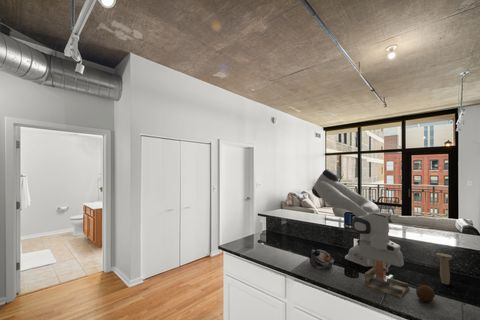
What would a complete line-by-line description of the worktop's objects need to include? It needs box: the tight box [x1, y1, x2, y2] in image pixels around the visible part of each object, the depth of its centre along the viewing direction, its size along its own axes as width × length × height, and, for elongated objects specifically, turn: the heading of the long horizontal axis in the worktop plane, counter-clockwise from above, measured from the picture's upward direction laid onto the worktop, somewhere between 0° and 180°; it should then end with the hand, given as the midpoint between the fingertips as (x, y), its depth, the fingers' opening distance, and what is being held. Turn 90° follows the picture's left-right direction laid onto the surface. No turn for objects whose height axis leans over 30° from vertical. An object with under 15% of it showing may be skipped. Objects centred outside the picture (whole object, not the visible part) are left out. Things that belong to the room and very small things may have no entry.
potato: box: [415, 284, 436, 303], centre depth 106 cm, size 7×12×7 cm, turn 137°
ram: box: [371, 260, 394, 286], centre depth 119 cm, size 8×7×12 cm
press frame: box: [364, 267, 410, 299], centre depth 118 cm, size 16×13×6 cm
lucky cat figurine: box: [309, 248, 335, 270], centre depth 143 cm, size 15×12×14 cm
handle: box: [435, 252, 453, 285], centre depth 121 cm, size 5×6×15 cm
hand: (380, 269), depth 120 cm, fingers closed on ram, 4 cm apart
